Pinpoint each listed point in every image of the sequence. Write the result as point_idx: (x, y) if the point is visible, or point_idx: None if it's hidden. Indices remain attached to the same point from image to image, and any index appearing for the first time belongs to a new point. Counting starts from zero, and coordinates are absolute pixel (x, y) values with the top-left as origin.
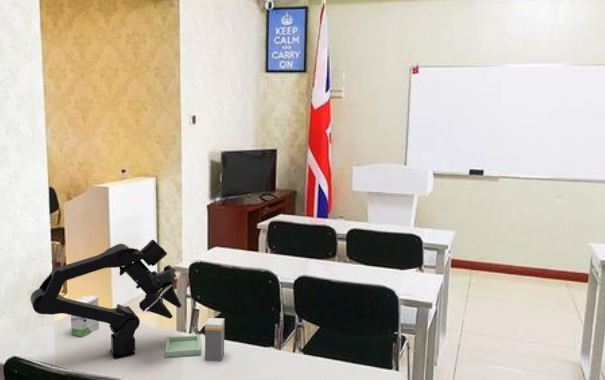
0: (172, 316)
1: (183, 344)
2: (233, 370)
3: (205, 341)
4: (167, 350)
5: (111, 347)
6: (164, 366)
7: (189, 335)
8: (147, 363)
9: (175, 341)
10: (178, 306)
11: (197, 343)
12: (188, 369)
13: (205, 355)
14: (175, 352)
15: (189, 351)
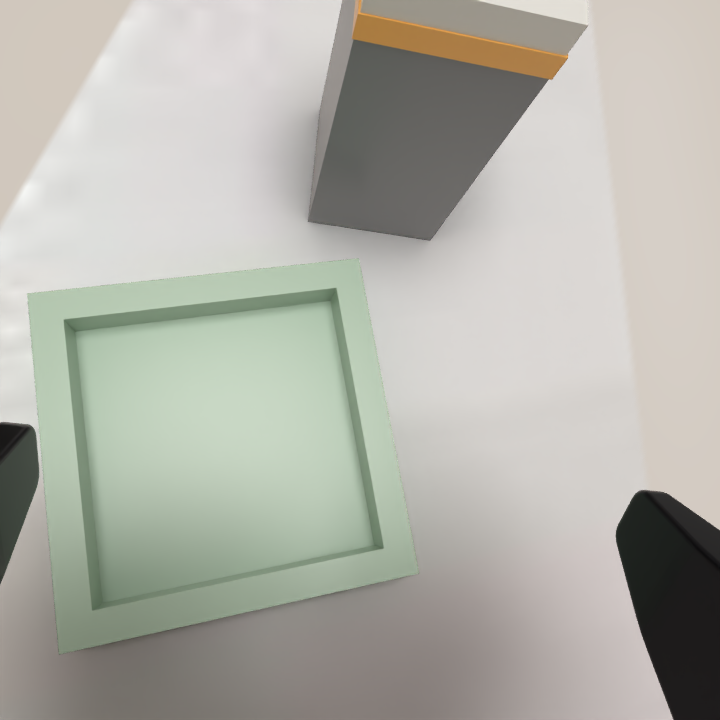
0: (653, 491)
1: (161, 450)
2: None
3: (490, 154)
4: (386, 559)
5: None
6: (539, 537)
7: (37, 402)
8: (503, 702)
9: (94, 543)
10: (26, 492)
11: (221, 303)
12: (564, 344)
13: (443, 219)
14: (398, 478)
15: (373, 356)
